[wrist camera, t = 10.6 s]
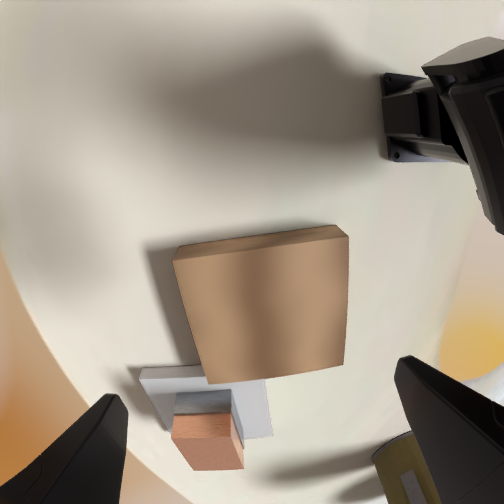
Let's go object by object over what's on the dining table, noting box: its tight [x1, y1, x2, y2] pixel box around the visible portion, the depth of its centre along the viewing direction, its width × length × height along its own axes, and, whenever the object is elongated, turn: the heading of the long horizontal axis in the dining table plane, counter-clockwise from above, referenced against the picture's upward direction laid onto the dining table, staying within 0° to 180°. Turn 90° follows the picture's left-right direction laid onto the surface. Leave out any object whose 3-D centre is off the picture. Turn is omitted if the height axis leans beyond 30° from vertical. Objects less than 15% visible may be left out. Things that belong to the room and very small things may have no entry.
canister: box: [372, 431, 441, 504], centre depth 25 cm, size 11×10×20 cm
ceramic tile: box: [139, 365, 273, 439], centre depth 25 cm, size 11×11×2 cm
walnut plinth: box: [172, 225, 349, 385], centre depth 21 cm, size 11×11×2 cm
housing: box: [171, 389, 244, 471], centre depth 22 cm, size 7×5×5 cm
